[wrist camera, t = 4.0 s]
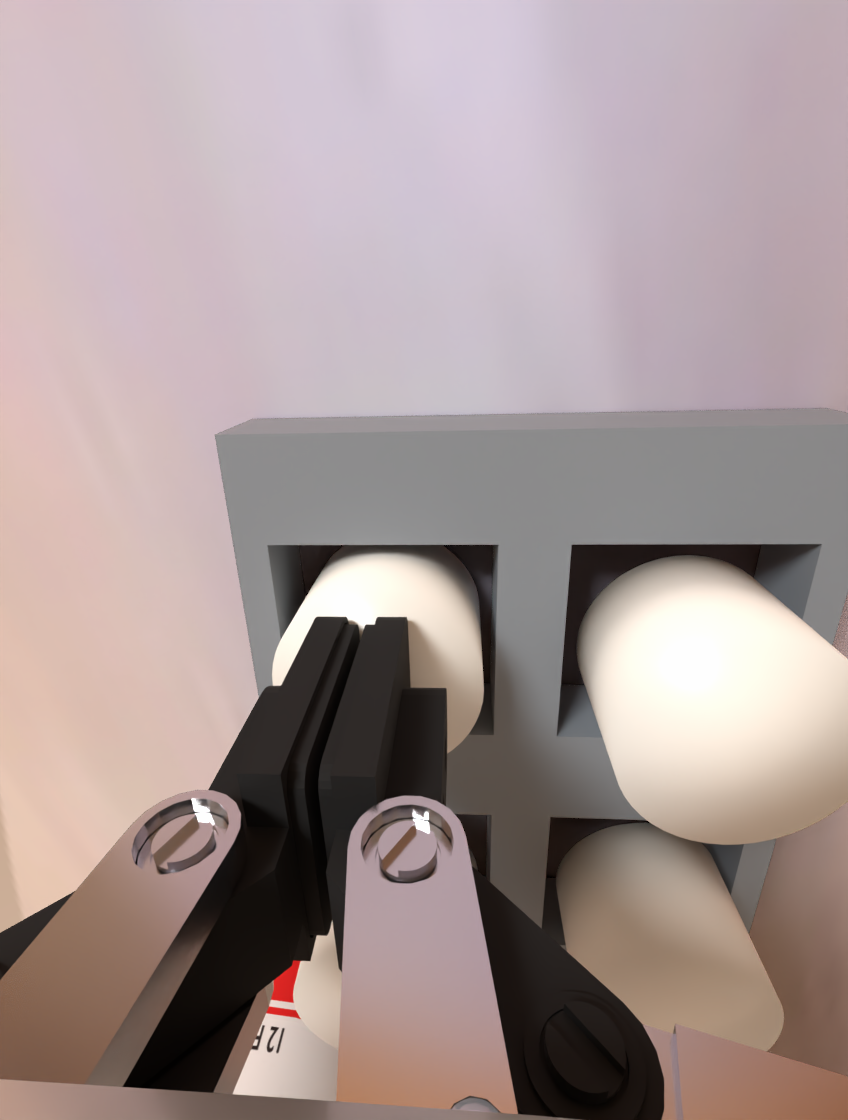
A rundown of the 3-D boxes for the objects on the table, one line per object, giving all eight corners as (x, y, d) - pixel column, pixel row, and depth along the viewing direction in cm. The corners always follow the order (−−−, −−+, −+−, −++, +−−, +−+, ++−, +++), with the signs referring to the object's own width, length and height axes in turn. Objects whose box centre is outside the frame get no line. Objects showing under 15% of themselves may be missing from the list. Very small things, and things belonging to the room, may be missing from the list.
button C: (796, 554, 11) (921, 641, 8) (754, 724, 12) (846, 848, 9) (584, 554, 11) (627, 637, 8) (569, 720, 13) (602, 840, 10)
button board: (826, 408, 11) (896, 423, 10) (688, 984, 18) (713, 1057, 17) (252, 419, 12) (214, 434, 10) (329, 965, 19) (315, 1033, 17)
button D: (480, 530, 13) (485, 592, 10) (478, 680, 14) (482, 774, 11) (306, 531, 13) (258, 591, 10) (322, 678, 14) (285, 768, 11)
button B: (478, 817, 14) (482, 949, 11) (477, 926, 15) (480, 1069, 12) (319, 812, 14) (282, 939, 11) (334, 919, 16) (303, 1057, 13)
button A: (730, 825, 13) (804, 965, 10) (703, 937, 15) (761, 1086, 12) (560, 819, 14) (587, 954, 11) (550, 929, 15) (572, 1074, 12)
